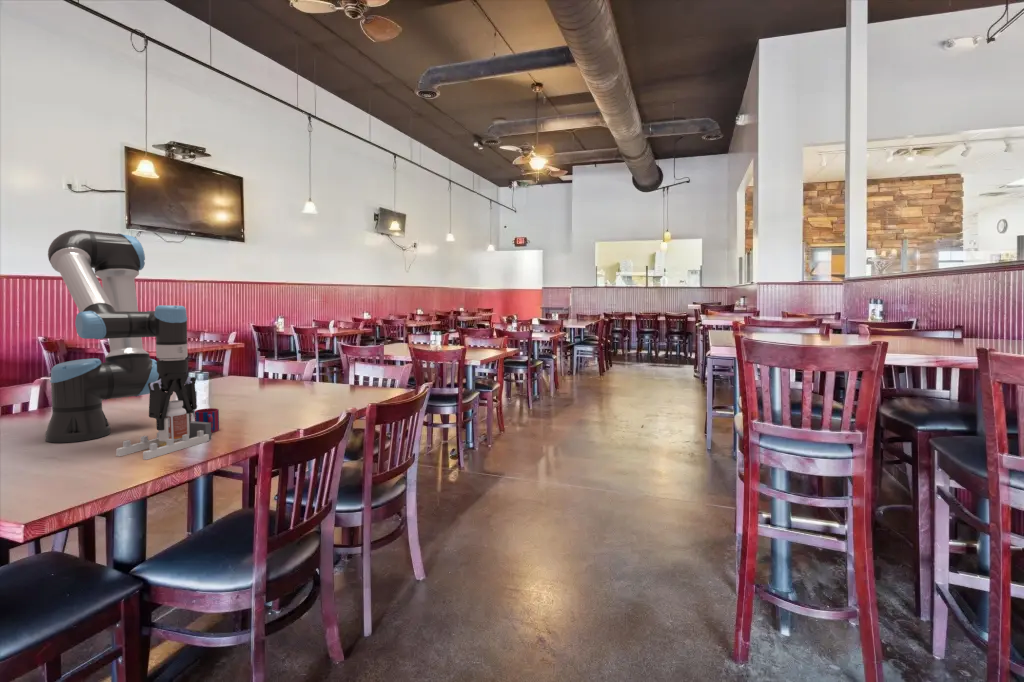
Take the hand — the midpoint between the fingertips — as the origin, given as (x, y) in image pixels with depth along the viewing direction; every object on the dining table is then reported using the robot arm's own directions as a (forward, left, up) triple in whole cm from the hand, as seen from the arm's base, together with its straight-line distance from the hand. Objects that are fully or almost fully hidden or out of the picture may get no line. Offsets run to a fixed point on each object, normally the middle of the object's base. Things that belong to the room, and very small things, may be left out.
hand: (174, 437), depth 150 cm
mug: (-4, +16, -3) cm, 16 cm away
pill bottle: (0, 0, -1) cm, 1 cm away
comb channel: (0, -3, -2) cm, 4 cm away
